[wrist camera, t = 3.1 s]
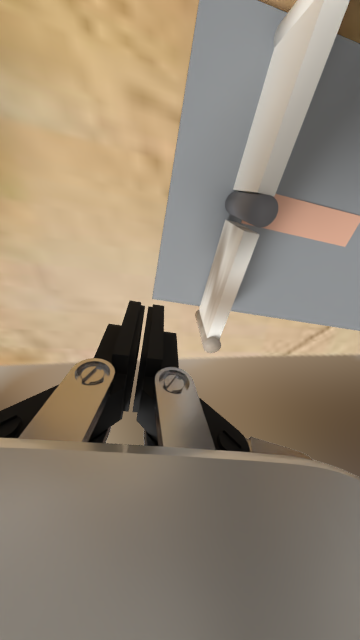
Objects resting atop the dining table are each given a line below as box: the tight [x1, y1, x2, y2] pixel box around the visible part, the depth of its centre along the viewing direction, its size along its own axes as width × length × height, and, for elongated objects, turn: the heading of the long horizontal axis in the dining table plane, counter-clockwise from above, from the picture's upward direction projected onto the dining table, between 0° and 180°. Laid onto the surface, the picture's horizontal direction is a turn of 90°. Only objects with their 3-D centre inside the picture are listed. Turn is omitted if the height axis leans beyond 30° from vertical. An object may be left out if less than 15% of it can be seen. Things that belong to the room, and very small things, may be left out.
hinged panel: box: [195, 220, 259, 353], centre depth 17 cm, size 9×1×5 cm, turn 168°
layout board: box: [152, 0, 360, 331], centre depth 15 cm, size 18×24×6 cm
